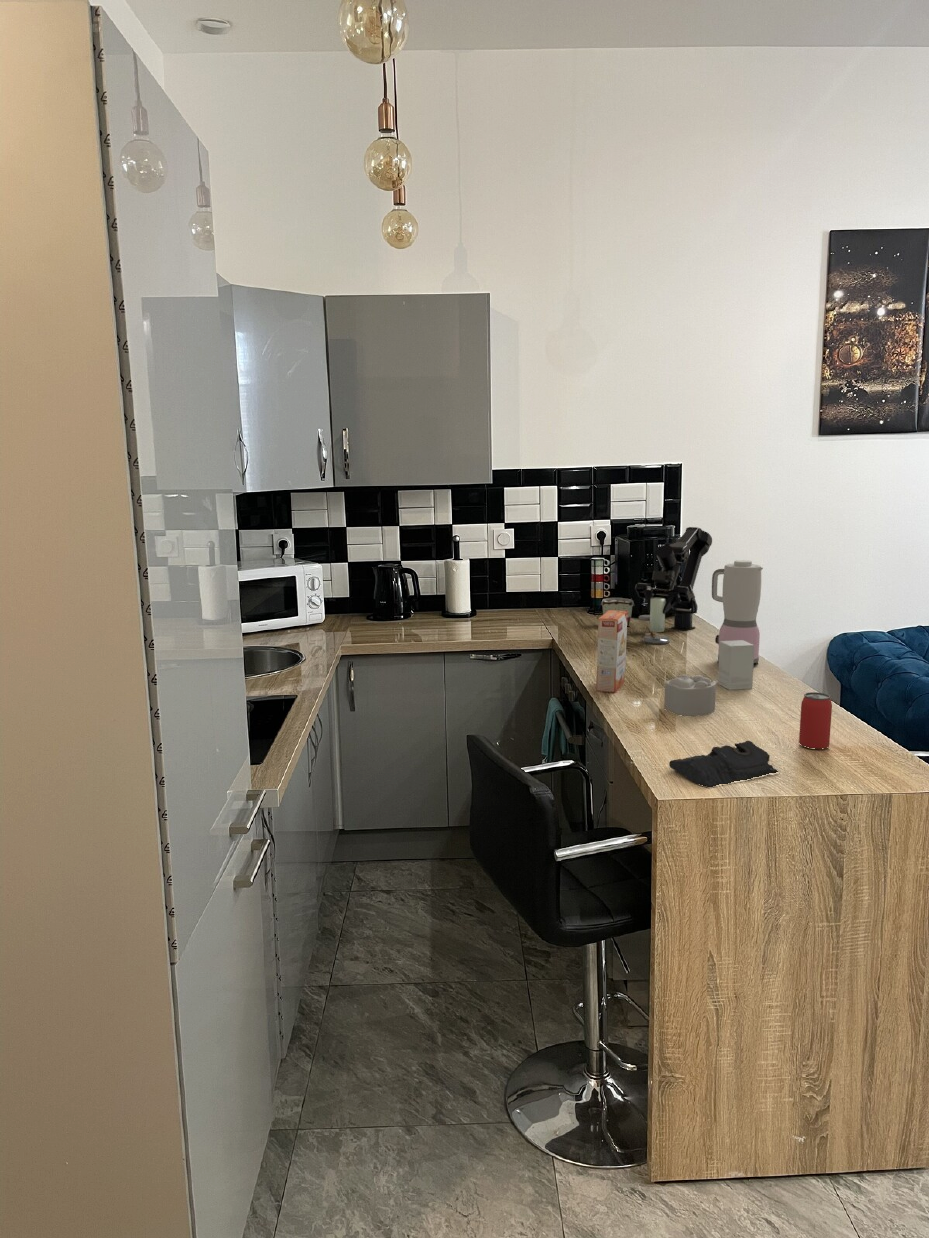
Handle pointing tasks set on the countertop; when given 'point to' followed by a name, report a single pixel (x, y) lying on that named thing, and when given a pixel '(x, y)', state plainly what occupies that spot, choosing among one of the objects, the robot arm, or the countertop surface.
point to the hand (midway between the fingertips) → (656, 612)
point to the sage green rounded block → (657, 614)
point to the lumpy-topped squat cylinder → (690, 695)
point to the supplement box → (736, 664)
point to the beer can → (815, 720)
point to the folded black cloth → (725, 765)
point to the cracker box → (611, 651)
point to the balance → (653, 635)
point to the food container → (618, 606)
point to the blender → (739, 603)
